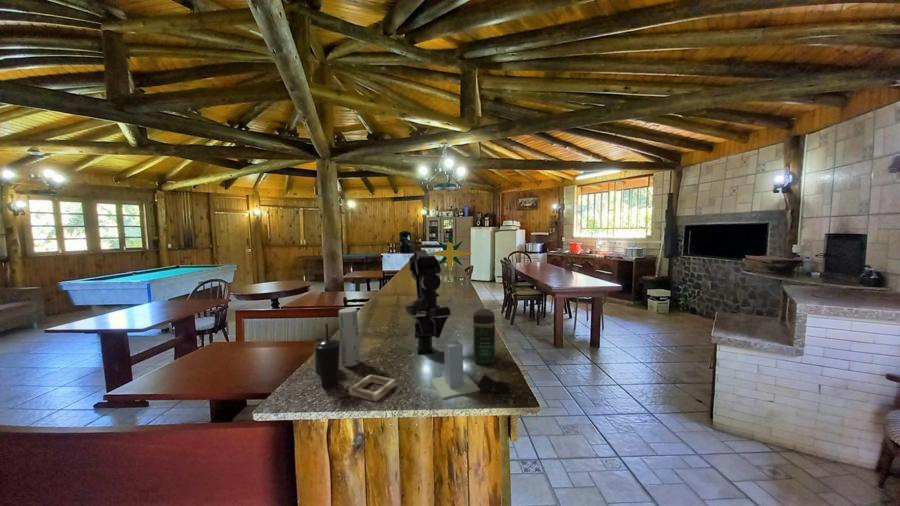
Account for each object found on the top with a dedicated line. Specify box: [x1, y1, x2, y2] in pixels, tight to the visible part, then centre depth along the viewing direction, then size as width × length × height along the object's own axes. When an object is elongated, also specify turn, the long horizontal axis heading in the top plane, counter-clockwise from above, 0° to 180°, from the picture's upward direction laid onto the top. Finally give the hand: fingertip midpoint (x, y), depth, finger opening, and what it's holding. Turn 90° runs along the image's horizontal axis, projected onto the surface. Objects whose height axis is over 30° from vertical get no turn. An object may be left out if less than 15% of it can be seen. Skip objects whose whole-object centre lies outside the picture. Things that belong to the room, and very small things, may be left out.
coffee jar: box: [472, 308, 496, 366], centre depth 121 cm, size 10×8×19 cm
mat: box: [429, 371, 481, 400], centre depth 103 cm, size 12×12×1 cm
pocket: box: [348, 373, 397, 402], centre depth 102 cm, size 10×10×2 cm
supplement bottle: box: [313, 334, 332, 374], centre depth 116 cm, size 7×7×12 cm
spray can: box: [338, 307, 360, 368], centre depth 121 cm, size 6×6×20 cm
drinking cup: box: [314, 323, 341, 390], centre depth 105 cm, size 8×8×20 cm
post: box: [443, 339, 464, 389], centre depth 102 cm, size 4×4×13 cm
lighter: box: [476, 372, 511, 395], centre depth 99 cm, size 9×2×6 cm
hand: (430, 336), depth 114 cm, fingers open, 9 cm apart
